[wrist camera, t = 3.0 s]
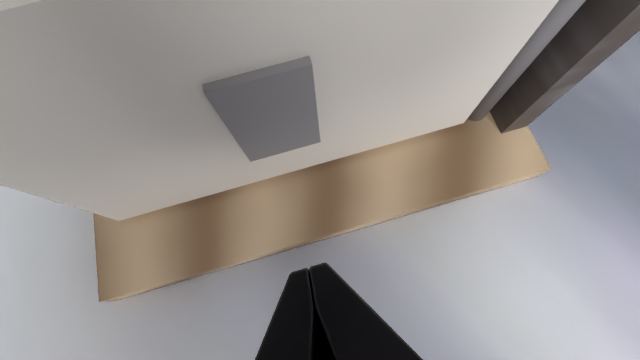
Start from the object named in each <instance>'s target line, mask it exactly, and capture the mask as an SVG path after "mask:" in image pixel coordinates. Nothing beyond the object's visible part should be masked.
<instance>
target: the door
mask: <svg viewBox="0 0 640 360" xmlns="http://www.w3.org/2000/svg"><path fill="white" fill-rule="evenodd" d="M585 1H586V0H0V185H3V186H6V187H10V188H13V189H16V190H19V191H23V192H26V193H29V194H32V195H36V196H39V197H42V198H45V199H49V200H52V201H55V202H59V203H62V204H65V205H68V206H72V207H75V208H78V209H81V210H85V211H88V212H91V213H94V214H98V215H101V216H104V217H108V218H111V219H114V220H117V221H121V220H124V219H128V218H131V217H135V216H138V215H142V214H145V213H149V212H152V211H156V210H159V209H163V208H166V207H170V206H173V205H177V204H180V203H184V202H188V201H191V200H195V199H198V198H202V197H205V196H209V195H212V194H216V193H219V192H223V191H226V190H230V189H233V188H237V187H240V186H244V185H247V184H251V183H254V182H258V181H261V180H265V179H269V178H272V177H276V176H279V175H283V174H286V173H290V172H293V171H297V170H300V169H304V168H307V167H311V166H314V165H318V164H321V163H325V162H328V161H332V160H335V159H339V158H342V157H346V156H350V155H353V154H357V153H360V152H364V151H367V150H371V149H374V148H378V147H381V146H385V145H388V144H392V143H395V142H399V141H402V140H406V139H409V138H413V137H416V136H420V135H424V134H427V133H431V132H434V131H438V130H441V129H445V128H448V127H452V126H455V125H459V124H462V123H464V122H465V121H466V120H467V118H468V119H469V120H472V121H479V120H482V119H483V118H484V117H485V116H486V115H487V114H488V112H489V111H490V110H491V109H492V108H493V107H494V105H495V104H496V103H497V102H498V101H499V100H500V99H501V97H502V96H503V95H504V94H505V93H506V92H507V91H508V89H509V88H510V87H511V86H512V85H513V84H514V82H515V81H516V80H517V79H518V78H519V77H520V76H521V74H522V73H523V72H524V71H525V70H526V69H527V68H528V66H529V65H530V64H531V63H532V62H533V61H534V59H535V58H536V57H537V56H538V55H539V54H540V53H541V51H542V50H543V49H544V48H545V47H546V46H547V45H548V43H549V42H550V41H551V40H552V39H553V38H554V36H555V35H556V34H557V33H558V32H559V31H560V30H561V28H562V27H563V26H564V25H565V24H566V23H567V22H568V20H569V19H570V18H571V17H572V16H573V15H574V13H575V12H576V11H577V10H578V9H579V8H580V7H581V5H582V4H583V3H584V2H585Z"/></svg>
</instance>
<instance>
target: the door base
mask: <svg viewBox="0 0 640 360" xmlns="http://www.w3.org/2000/svg"><path fill="white" fill-rule="evenodd" d="M638 31H640V0H586V1H585V2H584V3H583V4H582V5H581V7H580V8H579V9H578V10H577V11H576V12H575V13H574V15H573V16H572V17H571V18H570V19H569V20H568V22H567V23H566V24H565V25H564V26H563V27H562V28H561V30H560V31H559V32H558V33H557V34H556V35H555V36H554V38H553V39H552V40H551V41H550V42H549V43H548V45H547V46H546V47H545V48H544V49H543V50H542V51H541V53H540V54H539V55H538V56H537V57H536V58H535V59H534V61H533V62H532V63H531V64H530V65H529V66H528V68H527V69H526V70H525V71H524V72H523V73H522V74H521V76H520V77H519V78H518V79H517V80H516V81H515V82H514V84H513V85H512V86H511V87H510V88H509V89H508V91H507V92H506V93H505V94H504V95H503V96H502V97H501V99H500V100H499V101H498V102H497V103H496V104H495V105H494V107H493V108H492V109H491V110H490V111H489V112H488V114H487V115H486V116H485V117H484V118H483V119H482V120H479V121H472V120H469V119H468V118H467V120H466V121H465V122H464V123H462V124H459V125H455V126H452V127H448V128H445V129H441V130H438V131H434V132H431V133H427V134H424V135H420V136H416V137H413V138H409V139H406V140H402V141H399V142H395V143H392V144H388V145H385V146H381V147H378V148H374V149H371V150H367V151H364V152H360V153H357V154H353V155H350V156H346V157H342V158H339V159H335V160H332V161H328V162H325V163H321V164H318V165H314V166H311V167H307V168H304V169H300V170H297V171H293V172H290V173H286V174H283V175H279V176H276V177H272V178H269V179H265V180H261V181H258V182H254V183H251V184H247V185H244V186H240V187H237V188H233V189H230V190H226V191H223V192H219V193H216V194H212V195H209V196H205V197H202V198H198V199H195V200H191V201H188V202H184V203H180V204H177V205H173V206H170V207H166V208H163V209H159V210H156V211H152V212H149V213H145V214H142V215H138V216H135V217H131V218H128V219H124V220H121V221H117V220H114V219H111V218H108V217H104V216H101V215H98V214H94V229H95V245H96V261H97V277H98V293H99V302H101V301H116V300H119V299H123V298H126V297H129V296H133V295H136V294H140V293H143V292H146V291H150V290H153V289H157V288H160V287H163V286H167V285H170V284H174V283H177V282H180V281H184V280H187V279H191V278H194V277H197V276H201V275H204V274H208V273H211V272H214V271H218V270H221V269H225V268H228V267H231V266H235V265H238V264H242V263H245V262H248V261H252V260H255V259H259V258H262V257H265V256H269V255H272V254H276V253H279V252H282V251H286V250H289V249H293V248H296V247H299V246H303V245H306V244H310V243H313V242H316V241H320V240H323V239H327V238H330V237H333V236H337V235H340V234H344V233H347V232H350V231H354V230H357V229H361V228H364V227H367V226H371V225H374V224H378V223H381V222H384V221H388V220H391V219H395V218H398V217H401V216H405V215H408V214H412V213H415V212H418V211H422V210H425V209H429V208H432V207H435V206H439V205H442V204H446V203H449V202H452V201H456V200H459V199H463V198H466V197H469V196H473V195H476V194H480V193H483V192H486V191H490V190H493V189H497V188H500V187H503V186H507V185H510V184H513V183H517V182H520V181H524V180H527V179H530V178H534V177H537V176H539V175H541V174H543V173H545V172H546V171H548V170H550V169H551V167H550V166H549V164H548V162H547V160H546V158H545V157H544V155H543V153H542V151H541V149H540V147H539V146H538V144H537V142H536V140H535V138H534V137H533V135H532V133H531V131H530V129H529V127H528V126H527V125H529V124H530V123H531V122H532V121H533V120H534V119H536V118H537V117H538V116H539V115H540V114H542V113H543V112H544V111H545V110H546V109H547V108H549V107H550V106H551V105H552V104H553V103H555V102H556V101H557V100H558V99H559V98H560V97H562V96H563V95H564V94H565V93H566V92H568V91H569V90H570V89H571V88H572V87H573V86H575V85H576V84H577V83H578V82H579V81H581V80H582V79H583V78H584V77H585V76H586V75H588V74H589V73H590V72H591V71H592V70H593V69H595V68H596V67H597V66H598V65H599V64H601V63H602V62H603V61H604V60H605V59H606V58H608V57H609V56H610V55H611V54H612V53H614V52H615V51H616V50H617V49H618V48H619V47H621V46H622V45H623V44H624V43H625V42H627V41H628V40H629V39H630V38H631V37H632V36H634V35H635V34H636V33H637V32H638Z"/></svg>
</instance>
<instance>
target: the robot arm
mask: <svg viewBox="0 0 640 360" xmlns="http://www.w3.org/2000/svg"><path fill="white" fill-rule="evenodd" d="M255 360H423V359H422V358H421V357H420V356H419V355H418V354H417V353H416V352H415V351H414V350H413V349H412V348H411V347H410V346H409V345H408V344H407V343H406V342H405V341H404V340H403V339H402V338H401V337H400V336H399V335H398V334H397V333H396V332H395V331H394V330H393V329H392V328H391V327H390V326H389V325H388V324H387V323H386V322H385V321H384V320H383V319H382V318H381V317H380V316H379V315H378V314H377V313H376V312H375V311H374V310H373V309H372V308H371V307H370V306H369V305H368V304H367V303H366V302H365V301H364V300H363V299H362V298H361V297H360V296H359V295H358V294H357V293H356V292H355V291H354V290H353V289H352V288H351V287H350V286H349V285H348V284H347V283H346V282H345V281H344V280H343V279H342V278H341V277H340V276H339V275H338V274H337V273H336V272H335V271H334V270H333V269H332V268H331V267H330V266H329V265H328V264H327V263H321V264H318V265H315V266H311V267H310V268H309V270H308V269H307V268H305V269H301V270H298V271H294V272H292V273H291V274H290V275H289V277H288V280H287V282H286V285H285V287H284V290H283V292H282V294H281V297H280V299H279V302H278V304H277V307H276V309H275V312H274V314H273V317H272V319H271V322H270V324H269V326H268V329H267V331H266V334H265V336H264V339H263V341H262V344H261V346H260V349H259V351H258V353H257V356H256V358H255Z"/></svg>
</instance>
